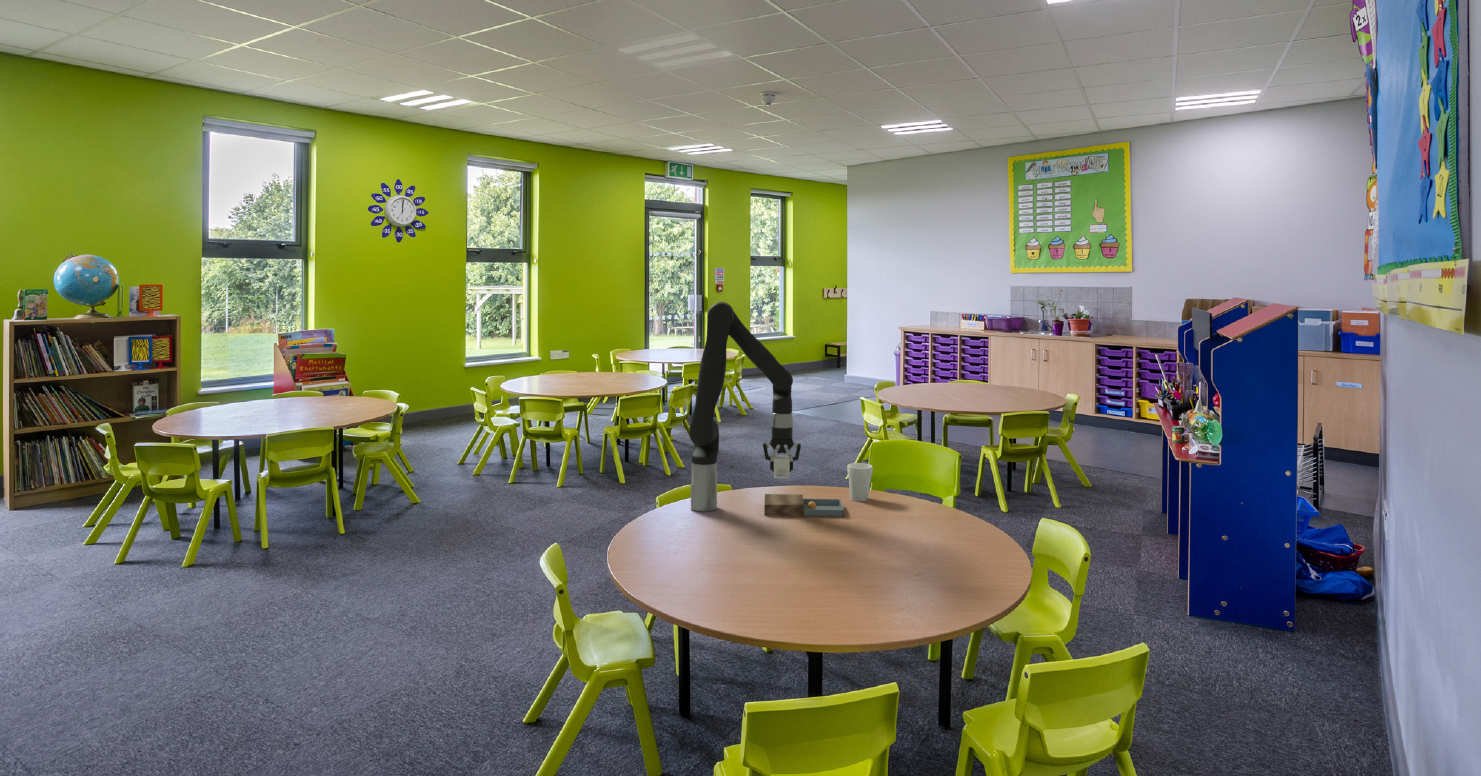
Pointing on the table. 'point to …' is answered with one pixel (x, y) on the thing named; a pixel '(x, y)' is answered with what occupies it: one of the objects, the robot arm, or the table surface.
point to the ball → (811, 505)
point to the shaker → (781, 466)
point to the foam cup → (859, 480)
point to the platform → (784, 505)
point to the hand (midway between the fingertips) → (781, 471)
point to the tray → (824, 508)
